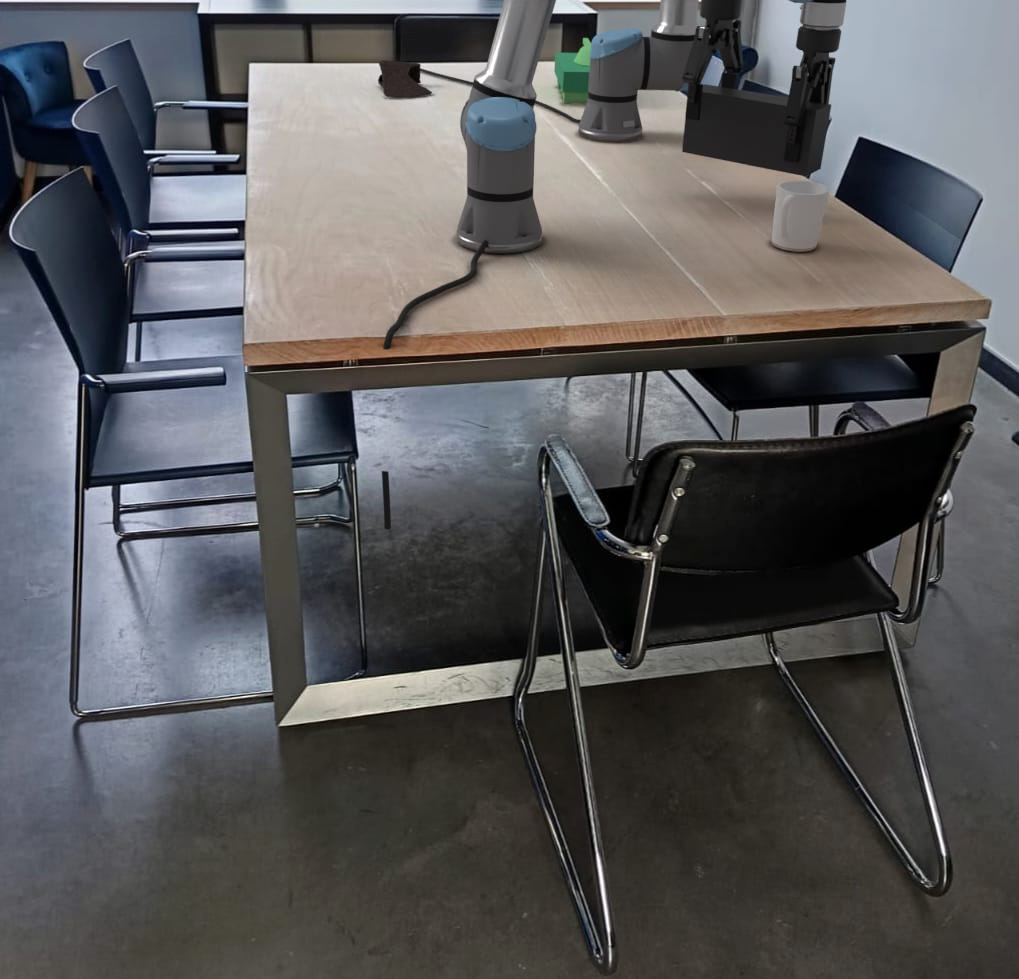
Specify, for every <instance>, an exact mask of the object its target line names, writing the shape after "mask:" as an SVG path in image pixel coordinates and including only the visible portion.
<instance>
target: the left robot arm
mask: <svg viewBox="0 0 1019 979" xmlns="http://www.w3.org/2000/svg"><path fill="white" fill-rule="evenodd" d="M788 1H789V2H792V3H794V4H799V9H800V10H801V11H800V18H799V23H800V24H801V25H800V26H799V27H798V29H797V34H796V35H797V36H796V43H795V48H796V49H797V50H799V51H802V53H803V54H802V57H801V60H800V63H799V65H793V67H792V70H791V71H792V72H791V82H790V87H789V93H788V102H787V108H786V113H785V118H784V124H787V125H789V128H788V135H787V141H786V148H785V155H784V160H786V161H791V162H796V163H797V162H799V157H800V151H801V145H802V138H803V132H804V126H802V124H803V120H804V117H805V113H806V109H807V107H808V103H809V101H811V102H818V103H825V104H830V96H831V89H832V88H831V87H832V81H833V74H834V68H835V64H836V57H831V56H830V54H833V53H836V52H838V50H839V49H840V43H841V36H842V30H841V27H842V26H843V25H844V20H845V15H846V9H847V8H846V7H847V0H788ZM556 3H557V0H503V3H502V7H501V10H500V15H499V19H498V22H497V26H496V30H495V34H494V37H493V40H492V43H491V44H492V45H491V48H490V52H489V55H488V60H487V63H486V67H485V69H484V70H482V71H481V72H479V73H477V74H475V75H474V78H473V81H472V82H473V85H471V89H470V92H469V96H468V99H467V100H466V101H465V103H464V106H463V107H462V110H461V113H460V120H459V125H460V132H461V136H462V139H463V141H464V146H465V148H466V192H467V193H466V198H465V202H464V205H463V209H462V211H461V214H460V218H459V220H458V224H457V228H456V241H457V243H458V244H459V245H461V246H462V247H464V248H466V249H468V250H470V251H475V253H474V254H473V257H472V258H471V260H470V271H469V272H468V273H467V274H466V275H464V276H462V277H460V278H458V279H455V280H452V281H450V282H447V283H445V284H443V285H440V286H437V287H436V288H434V289H432V290H429V291H426V292H425V293H423V294H421V295H419V296H417V297H415V298H414V299H412V300H411V301H409V302H408V303H407V304H406V305H405V306H404V307H403V309H402V310H401V312H400V313H399V316H398V318H397V319H396V321H395V323H394V324H392V325H391V326H390V327H389V329H388V330H387V331H386V334H385V338H384V341H383V345H382V346H383V347H382V349H383V350H385V351H386V350H390V349H391V346H392V342H393V339H394V335H395V333H396V332H398V331H399V330H400V328H401V327H402V326H403V324H404V322H405V320H406V318H407V316H408V315H409V313H410V311H412V310H413V309H414V308H415V307H416V306H418V305H420V304H421V303H423V302H425V301H427V300H429V299H431V298H434V297H436V296H438V295H440V294H442V293H445V292H446V291H450V290H451V289H454V288H456V287H457V288H458V287H460V286H461V285H465V284H466V283H468V282H470V281H471V280H472V279H473V278H474V277H475V276H476V275H477V273H478V272H477V271H478V269H477V268H478V266H477V265H478V261H479V260H480V257H481V256H482V255H483V253H486V254H497V255H499V254H500V255H506V254H507V255H508V254H517V253H524V252H527V251H530V250H533V249H536V248H538V247H539V246H540V245H541V244H542V243H543V229H542V224H541V221H540V220H541V219H540V218H539V214H538V213H539V212H538V210H537V206H536V204H535V199H534V184H535V181H534V180H535V148H536V147H535V146H536V134H537V122H536V113H535V110H534V107H535V101H537V97H538V94H537V93H536V90H535V88H534V85H533V81H534V77H535V74H536V71H537V67H538V63H539V60H540V57H541V54H542V50H543V48H544V42H545V40H546V37H547V33H548V30H549V26H550V22H551V19H552V15H553V12H554V10H555V5H556ZM381 483H382V500H383V502H382V503H383V518H384V519H383V523H384V526H383V527H384V530H386V531H387V530H391V529H392V520H391V518H392V516H391V493H390V476H389V471H388V470H381Z"/></svg>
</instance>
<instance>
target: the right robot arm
mask: <svg viewBox="0 0 1019 979" xmlns="http://www.w3.org/2000/svg"><path fill="white" fill-rule="evenodd" d="M699 1H700V8H699ZM742 5H743V0H660V4H659V13H658V14H659V15H658V21H657V22H656V23H655V24H654V25H652V26H651V29H650V30H651V31H650V36H644V34H643V31H641V29H639V28H638V29H637V28H619V29H612V30H607V31H602V32H600V33H598V34H596V35H594V37H592V39H591V51H590V55H589V59H590V71H589V87H588V101H587V103H585V107H584V110H583V112H582V115H581V118H580V119H578V118H575V117H573V116H571V115H569V114H568V113H566V112H564V111H561V110H560V109H558V108H555V107H553V106H551V105H549V104H546V103H544V102H541V101H539V100H536V101H535V104H536V105H537V106H540V107H542V108H545V109H547V110H550V111H551V112H554V113H556V114H557V115H560V116H562V117H565V118H566V119H568V120H569V121H571V122H573V123H577V124H578V132H577V133H578V135H579V136H580V137H581V138H583V139H587V140H591V141H596V142H604V143H626V142H632V141H637V140H639V139H641V138H642V136H643V125H642V124H643V123H642V120H641V116H640V112H639V108H638V107H639V106H638V93H639V91H674V92H680V91H687V96H686V106H685V117H684V119H685V118H686V119H691V120H697V121H698V120H700V111H701V101H702V92H703V85H704V84H703V83H702V81H703V79H704V76H705V75H706V72H707V70H708V67H709V65H710V63H711V61H712V58H713V56H714V54H717V53H718V51H719V54H720V58H721V61H722V65H723V68H724V71H725V72H722V73H721V82H720V87H725V88H732V89H736V83H737V82H736V81H737V74H738V75H741V74H742V72H743V68H744V56H743V45H742V44H743V43H742V36H741V30H742V29H741V28H742V21H741V20H740V18H741V12H742ZM698 11H699V16H700V17H701V18H702V19H705V24H704V26H701V25H699V24H698V21H697V20H698ZM420 73H424V74H427V75H431V76H435V77H439V78H442V79H445V80H450V81H454V82H458V83H461V84H466V85H470V86H472V85H473V82H474V81H470V80H467V79H461V78H458V77H453V76H449V75H446V74H443V73H442V74H441V73H438V72H434V71H431V70H428V69H423V68H421V67H420ZM535 104H534V105H535Z"/></svg>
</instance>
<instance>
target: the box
mask: <svg viewBox="0 0 1019 979" xmlns="http://www.w3.org/2000/svg"><path fill="white" fill-rule="evenodd" d="M788 97H789V96H788ZM788 97H787V96H781V95H775V94H769V93H761V92H755V91H750V90H744V89H737V88H735V89H732V88H725V87H721V86H718V85H713V84H703V92H702V101H701V111H700V120H698V121H697V120H691V119H686V118H685V117H684V129H683V137H682V146H681V147H682V149H681V153H686V154H690V155H695V156H700V157H706V158H709V159H716V160H719V161H720V160H721V161H726V162H730V163H736V164H741V165H746V166H749V167H756V168H761V169H766V170H772V171H776V172H782V173H785V174H792V175H796V176H801V177H807V176H810V175H811V174H814V173H815V172H818V171H819V170H821V169H822V163H823V157H824V152H825V145H826V141H827V140H826V139H827V135H828V134H827V133H828V128H829V121H830V116H831V110H832V104H830V103H829V104H825V103H818V102H811V101H809V103H808V107H807V109H806V113H805V117H804V120H803V124H802V126H804V132H803V138H802V145H801V151H800V157H799V162H797V163H796V162H791V161H786V160H784V155H785V148H786V141H787V135H788V128H789V125H787V124H784V118H785V113H786V108H787V102H788Z"/></svg>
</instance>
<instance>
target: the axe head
mask: <svg viewBox="0 0 1019 979" xmlns="http://www.w3.org/2000/svg"><path fill="white" fill-rule="evenodd" d="M378 66H379V68H380V72H381V74H379V75H378V79H377V84H378V85H379V86H380V87H381V88H382V89H383V95H384V96H385V97H388V98H394V99H395V98H396V99H403V98H405V99H406V98H407V99H411V98H418V97H425V96H429V95H432V94H433V91H431V90H430V89H428V88H427V87H425V86H422V85H421V84H422V82H421V71H420V68H421V63H419V62H410V61H408V62H407V61H397V60H388V59H387V60H380V61H379V62H378Z"/></svg>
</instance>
